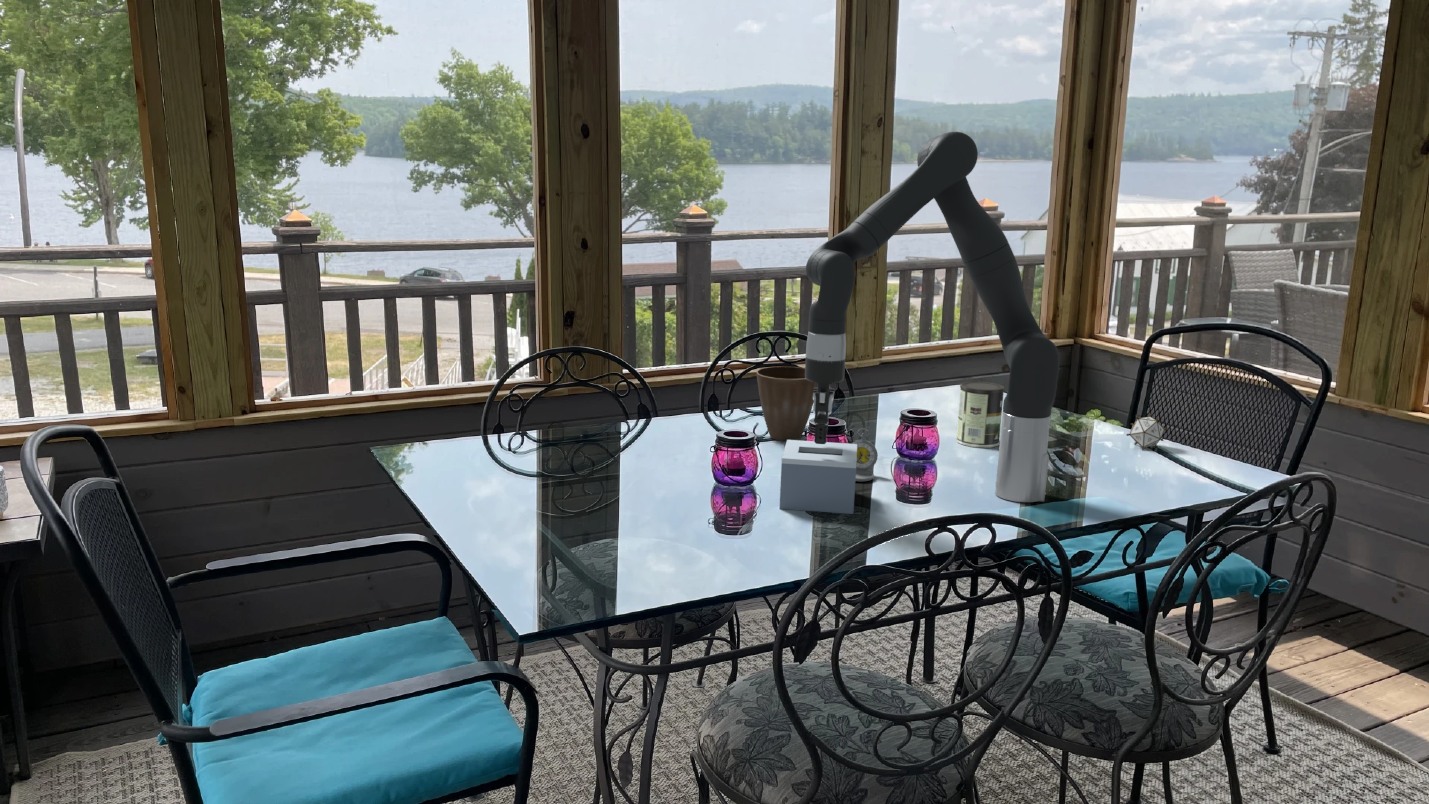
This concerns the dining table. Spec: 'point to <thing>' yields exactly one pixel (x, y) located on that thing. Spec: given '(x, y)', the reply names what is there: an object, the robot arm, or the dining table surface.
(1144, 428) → the game die
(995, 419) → the coffee can
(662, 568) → the dining table surface
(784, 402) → the plant pot
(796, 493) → the coin box
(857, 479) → the pocket watch
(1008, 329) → the robot arm
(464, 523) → the dining table surface
